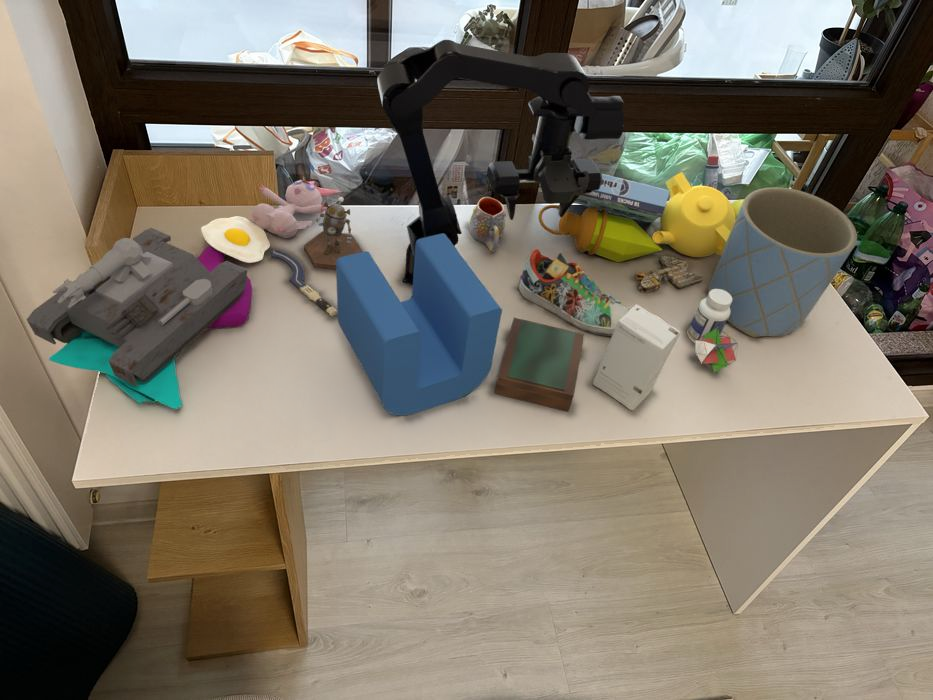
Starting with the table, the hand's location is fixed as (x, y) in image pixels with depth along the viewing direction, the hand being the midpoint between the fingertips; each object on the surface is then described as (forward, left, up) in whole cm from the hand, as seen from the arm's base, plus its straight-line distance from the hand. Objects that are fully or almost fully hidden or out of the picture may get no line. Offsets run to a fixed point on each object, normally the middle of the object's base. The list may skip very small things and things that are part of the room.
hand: (535, 217), depth 129 cm
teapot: (+30, +21, -11) cm, 38 cm away
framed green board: (+7, -24, -13) cm, 28 cm away
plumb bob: (+12, +11, -13) cm, 21 cm away
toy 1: (-55, -35, -10) cm, 66 cm away
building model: (+27, +7, -13) cm, 30 cm away
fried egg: (-51, -12, -10) cm, 53 cm away
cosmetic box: (+21, -24, -13) cm, 34 cm away
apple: (+40, +26, -13) cm, 50 cm away
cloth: (-54, -43, -10) cm, 70 cm away
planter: (+43, +5, -13) cm, 45 cm away
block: (-13, -30, -13) cm, 35 cm away
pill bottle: (+33, -7, -13) cm, 36 cm away
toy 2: (-48, -9, -10) cm, 49 cm away
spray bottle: (-50, -21, -13) cm, 56 cm away
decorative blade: (-36, -14, -12) cm, 40 cm away
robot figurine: (-35, -7, -13) cm, 38 cm away
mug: (-8, +6, -13) cm, 16 cm away
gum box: (+14, +27, -11) cm, 32 cm away
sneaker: (+10, -8, -13) cm, 18 cm away
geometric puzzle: (+37, -10, -8) cm, 39 cm away
